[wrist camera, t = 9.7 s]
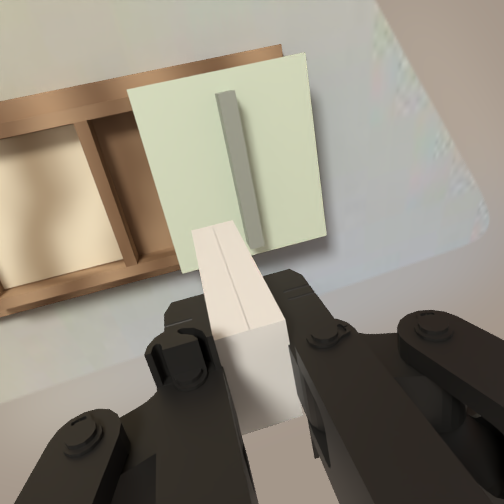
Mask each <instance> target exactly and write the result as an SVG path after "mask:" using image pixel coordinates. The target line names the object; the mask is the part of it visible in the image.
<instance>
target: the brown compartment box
mask: <svg viewBox="0 0 504 504" xmlns="http://www.w3.org/2000/svg"><path fill="white" fill-rule="evenodd" d="M280 57H283V54H282V47H281V44H279V45H274V46H269V47H264V48H260V49H255V50H250V51H245V52H240V53H235V54H230V55H225V56H220V57H216V58H211V59H206V60H201V61H196V62H191V63H186V64H181V65H176V66H172V67H167V68H162V69H157V70H152V71H147V72H142V73H137V74H132V75H127V76H123V77H118V78H113V79H108V80H103V81H98V82H93V83H88V84H83V85H79V86H74V87H69V88H64V89H59V90H54V91H49V92H44V93H39V94H35V95H30V96H25V97H20V98H15V99H10V100H5V101H0V317H3V316H7V315H10V314H14V313H18V312H22V311H26V310H29V309H33V308H37V307H41V306H45V305H48V304H52V303H56V302H60V301H63V300H67V299H71V298H75V297H79V296H82V295H86V294H90V293H94V292H98V291H101V290H105V289H109V288H113V287H117V286H120V285H124V284H128V283H132V282H135V281H139V280H143V279H147V278H151V277H154V276H158V275H162V274H166V273H170V272H173V271H177V270H181V268H180V265H179V261H178V258H177V255H176V252H175V248H174V245H173V242H172V238H171V235H170V232H169V228H168V225H167V222H166V218H165V215H164V212H163V209H162V205H161V202H160V199H159V195H158V192H157V189H156V185H155V182H154V179H153V175H152V172H151V169H150V166H149V162H148V159H147V156H146V152H145V149H144V146H143V142H142V139H141V136H140V132H139V129H138V126H137V123H136V119H135V116H134V113H133V109H132V106H131V103H130V99H129V96H128V93H127V89H132V88H136V87H141V86H146V85H151V84H156V83H160V82H165V81H170V80H175V79H180V78H184V77H189V76H194V75H199V74H204V73H208V72H213V71H218V70H223V69H228V68H232V67H237V66H242V65H247V64H252V63H256V62H261V61H266V60H271V59H276V58H280Z"/></svg>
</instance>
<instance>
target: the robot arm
mask: <svg viewBox="0 0 504 504" xmlns="http://www.w3.org/2000/svg"><path fill="white" fill-rule="evenodd" d="M191 232H192V237H193V242H194V247H195V252H196V257H197V261H198V266H199V271H200V276H201V281H202V286H203V291H204V294H201V295H198V296H194V297H190V298H187V299H183V300H179V301H176V302H172V303H171V304H170V306H169V307H168V309H167V311H166V312H165V314H164V326H165V328H164V332H163V333H161V334H160V335H158V336H157V337H155V338H154V339H153V341H152V342H151V343H150V344H149V345H148V346H147V349H146V352H145V358H146V360H147V363H148V366H149V368H150V371H151V373H152V376H153V379H154V381H155V383H156V386H157V392H156V393H155V395H154V396H153V397H151V398H150V399H149V400H148V401H147V402H145V403H144V404H143V405H141V406H139V407H138V408H136V409H135V410H133V411H131V412H129V413H128V414H126V415H124V416H122V417H120V418H119V417H118V414H116V413H115V412H113V411H111V410H110V409H95V410H92V411H88V412H84V413H83V414H81V415H79V416H77V417H75V418H74V419H71V420H70V421H69V422H67V423H66V424H65V425H64V426H63V427H61V428H60V429H59V430H58V431H57V432H56V434H55V435H54V437H53V438H52V439H51V440H50V442H49V443H48V445H47V447H46V448H45V450H44V452H43V454H42V455H41V457H40V459H39V461H38V462H37V464H36V466H35V468H34V469H33V471H32V473H31V475H30V477H29V478H28V480H27V482H26V484H25V485H24V487H23V489H22V491H21V493H20V494H19V496H18V498H17V500H16V501H15V503H14V504H258V500H257V496H256V491H255V487H254V483H253V478H252V474H251V470H250V466H249V461H248V457H247V454H246V450H245V447H244V443H243V439H242V435H244V434H247V433H251V432H254V431H257V430H260V429H263V428H266V427H269V426H273V425H276V424H279V423H282V422H285V421H288V420H291V419H294V418H297V417H301V416H303V412H302V407H303V409H304V411H305V413H306V416H307V418H308V423H309V429H310V435H311V440H312V446H313V451H314V457H315V459H316V458H319V456H320V459H321V461H322V463H323V466H324V468H325V471H326V473H327V475H328V477H329V480H330V482H331V485H332V487H333V489H334V492H335V494H336V496H337V499H338V501H339V503H340V504H504V340H502V339H500V338H498V337H496V336H494V335H492V334H490V333H489V332H487V331H485V330H483V329H481V328H479V327H477V326H475V325H473V324H471V323H469V322H467V321H465V320H463V319H461V318H459V317H457V316H455V315H452V314H449V313H447V312H442V311H435V310H423V311H416V312H413V313H410V314H408V315H406V316H405V317H404V318H402V319H401V320H400V322H399V324H398V327H397V333H387V334H362V333H358V332H357V331H356V329H355V328H353V327H352V326H351V325H350V324H348V323H347V322H345V321H342V320H339V319H334V318H333V316H332V315H331V313H330V312H329V311H328V309H327V308H326V307H325V305H324V304H323V303H322V301H321V300H320V299H319V297H318V296H317V295H316V293H314V291H313V289H312V288H311V286H309V284H308V282H307V281H306V280H305V278H304V277H303V276H302V275H301V274H299V273H297V272H295V271H293V270H290V269H288V270H284V271H280V272H277V273H273V274H269V275H266V276H262V275H261V273H260V271H259V269H258V267H257V265H256V263H255V261H254V259H253V258H252V256H251V254H250V252H249V250H248V248H247V246H246V244H245V242H244V241H243V239H242V237H241V235H240V233H239V231H238V229H237V227H236V225H235V224H234V222H233V220H231V221H227V222H223V223H219V224H215V225H211V226H207V227H203V228H199V229H195V230H191ZM301 404H302V407H301Z"/></svg>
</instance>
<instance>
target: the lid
mask: <svg viewBox="0 0 504 504" xmlns="http://www.w3.org/2000/svg"><path fill="white" fill-rule="evenodd" d="M127 93H128V96H129V99H130V103H131V106H132V109H133V113H134V116H135V119H136V123H137V126H138V129H139V132H140V136H141V139H142V142H143V146H144V149H145V152H146V156H147V159H148V162H149V166H150V169H151V172H152V175H153V179H154V182H155V185H156V189H157V192H158V195H159V199H160V202H161V205H162V209H163V212H164V215H165V218H166V222H167V225H168V228H169V232H170V235H171V238H172V242H173V245H174V248H175V252H176V255H177V258H178V261H179V265H180V268H181V271H182V274H183V273H187V272H191V271H195V270H198V269H199V266H198V261H197V257H196V252H195V247H194V242H193V237H192V232H191V230H195V229H199V228H203V227H207V226H211V225H215V224H219V223H223V222H227V221H231V220H233V222H234V224H235V225H236V227H237V229H238V231H239V233H240V235H241V237H242V239H243V241H244V242H245V244H246V246H247V248H248V250H249V252H250V254H251V255H255V254H259V253H262V252H266V251H270V250H274V249H278V248H281V247H285V246H289V245H293V244H296V243H300V242H304V241H308V240H311V239H315V238H319V237H323V236H327V235H326V226H325V217H324V209H323V200H322V192H321V183H320V175H319V166H318V158H317V149H316V140H315V132H314V123H313V115H312V106H311V98H310V89H309V81H308V72H307V64H306V55H305V52H304V53H300V54H295V55H290V56H285V57H280V58H276V59H271V60H266V61H261V62H256V63H252V64H247V65H242V66H237V67H232V68H228V69H223V70H218V71H213V72H208V73H204V74H199V75H194V76H189V77H184V78H180V79H175V80H170V81H165V82H160V83H156V84H151V85H146V86H141V87H136V88H132V89H127Z"/></svg>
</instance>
